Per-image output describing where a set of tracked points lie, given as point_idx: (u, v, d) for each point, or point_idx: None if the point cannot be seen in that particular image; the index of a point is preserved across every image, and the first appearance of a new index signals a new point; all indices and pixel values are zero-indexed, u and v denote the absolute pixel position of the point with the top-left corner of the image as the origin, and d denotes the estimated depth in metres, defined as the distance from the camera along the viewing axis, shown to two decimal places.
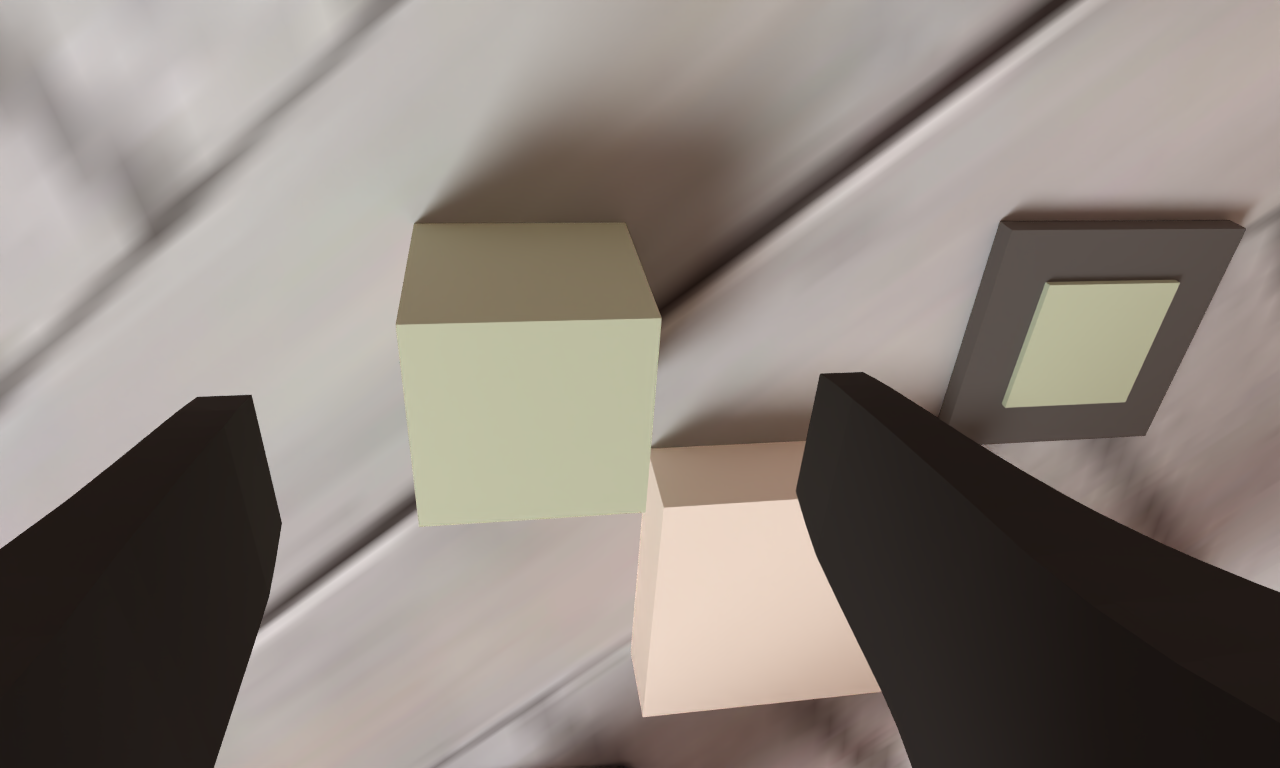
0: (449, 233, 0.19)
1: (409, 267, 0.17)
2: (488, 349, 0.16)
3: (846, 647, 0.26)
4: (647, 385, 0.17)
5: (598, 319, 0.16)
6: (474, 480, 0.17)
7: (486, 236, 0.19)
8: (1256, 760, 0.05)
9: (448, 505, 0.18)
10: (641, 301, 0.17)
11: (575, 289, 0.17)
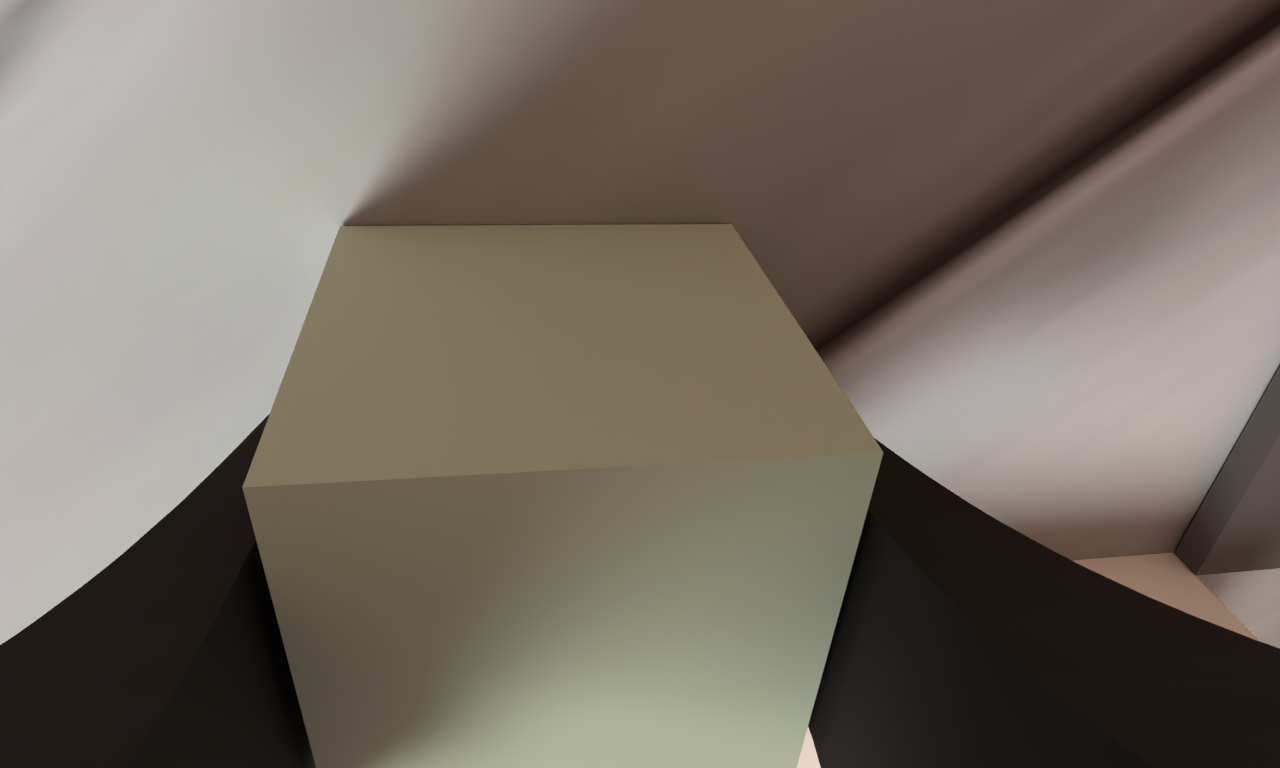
0: (405, 248, 0.10)
1: (309, 325, 0.08)
2: (478, 531, 0.07)
3: None
4: (828, 587, 0.08)
5: (741, 458, 0.07)
6: None
7: (476, 253, 0.10)
8: None
9: None
10: (821, 404, 0.07)
11: (670, 375, 0.08)
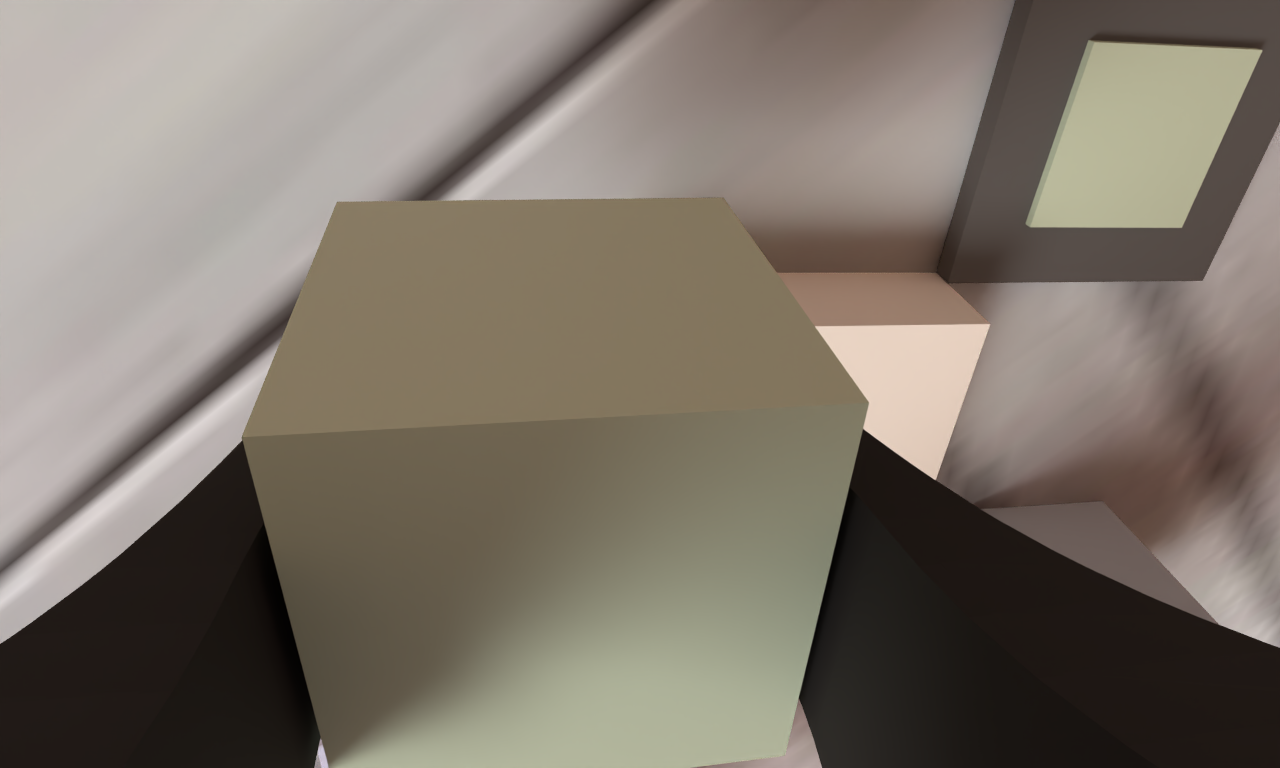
0: (401, 221, 0.10)
1: (307, 291, 0.08)
2: (471, 482, 0.07)
3: None
4: (817, 540, 0.08)
5: (729, 408, 0.07)
6: (450, 730, 0.08)
7: (471, 225, 0.10)
8: None
9: None
10: (808, 360, 0.08)
11: (660, 334, 0.08)
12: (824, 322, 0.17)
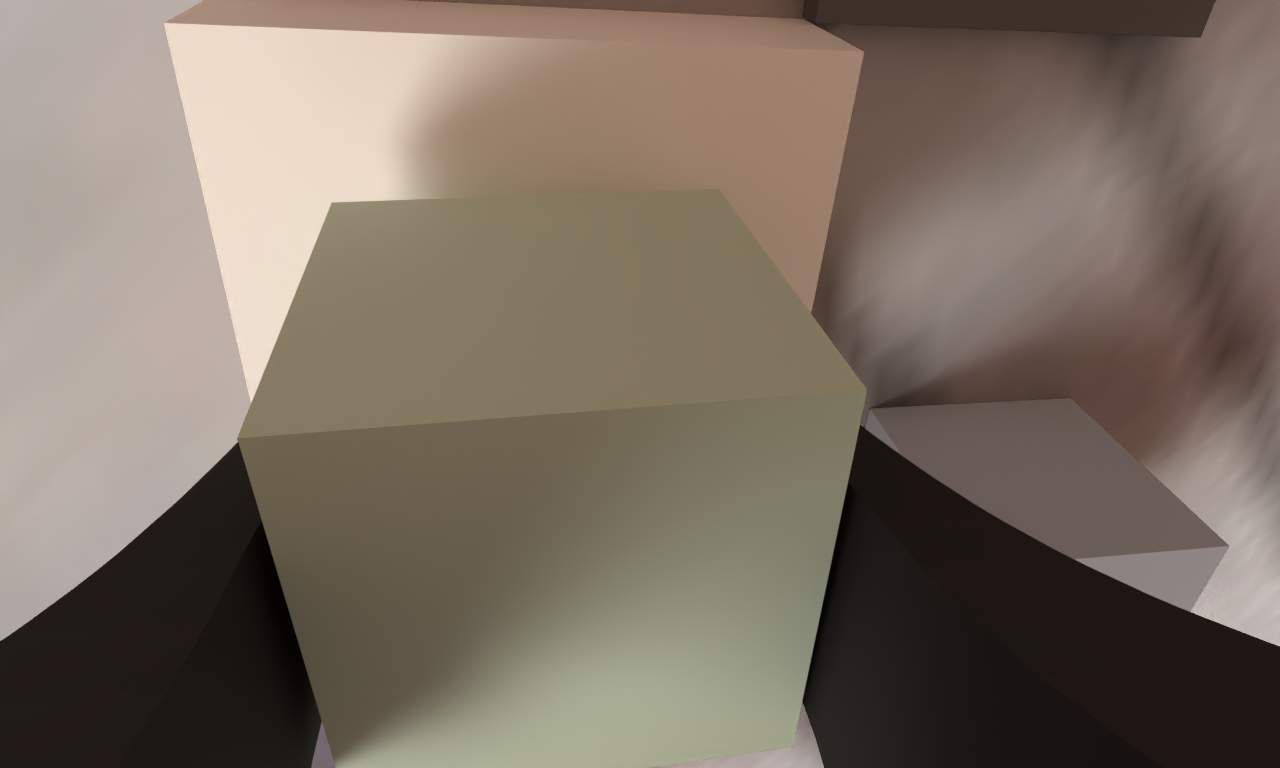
0: (395, 220, 0.10)
1: (302, 291, 0.08)
2: (469, 479, 0.07)
3: None
4: (820, 529, 0.08)
5: (726, 398, 0.07)
6: (455, 726, 0.08)
7: (466, 222, 0.10)
8: None
9: None
10: (806, 348, 0.07)
11: (656, 327, 0.08)
12: (591, 38, 0.11)
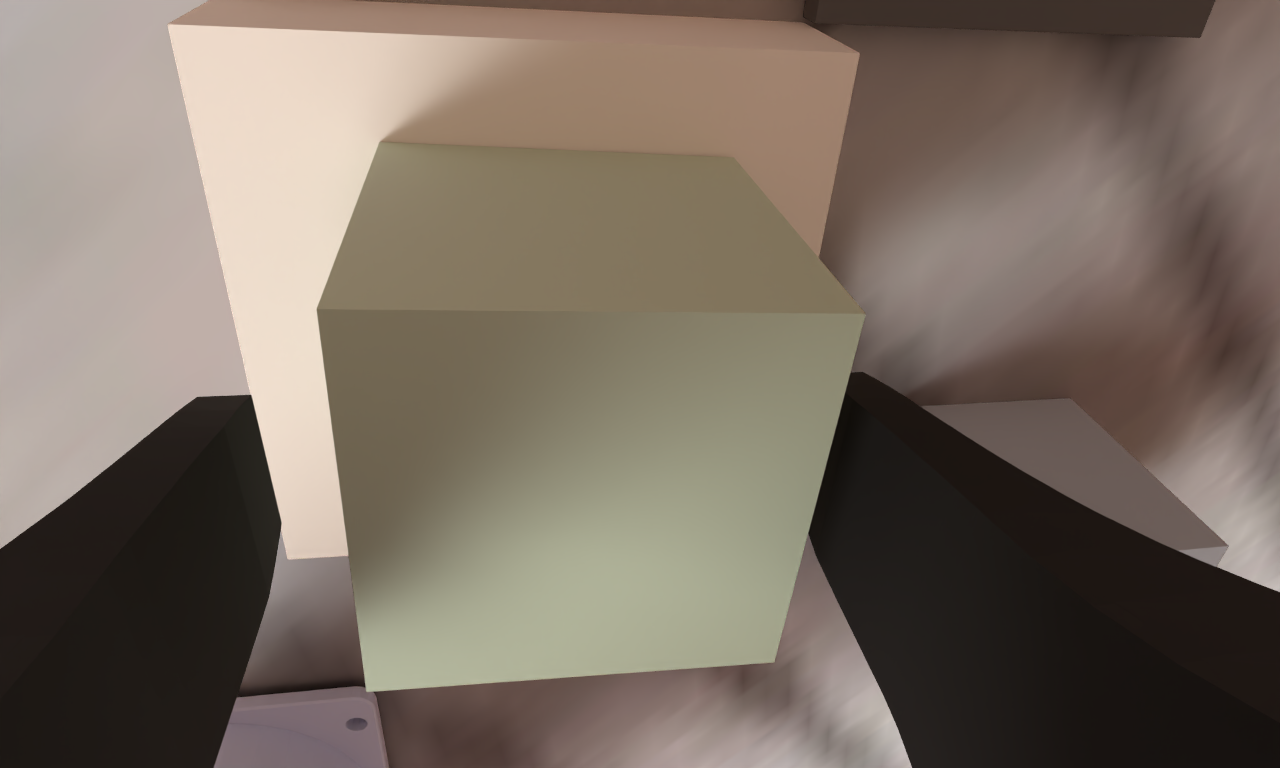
0: (440, 159, 0.11)
1: (361, 207, 0.09)
2: (513, 366, 0.08)
3: None
4: (815, 445, 0.09)
5: (743, 311, 0.08)
6: (472, 613, 0.09)
7: (505, 166, 0.11)
8: (1256, 760, 0.05)
9: (422, 656, 0.09)
10: (812, 281, 0.08)
11: (681, 256, 0.09)
12: (590, 39, 0.11)
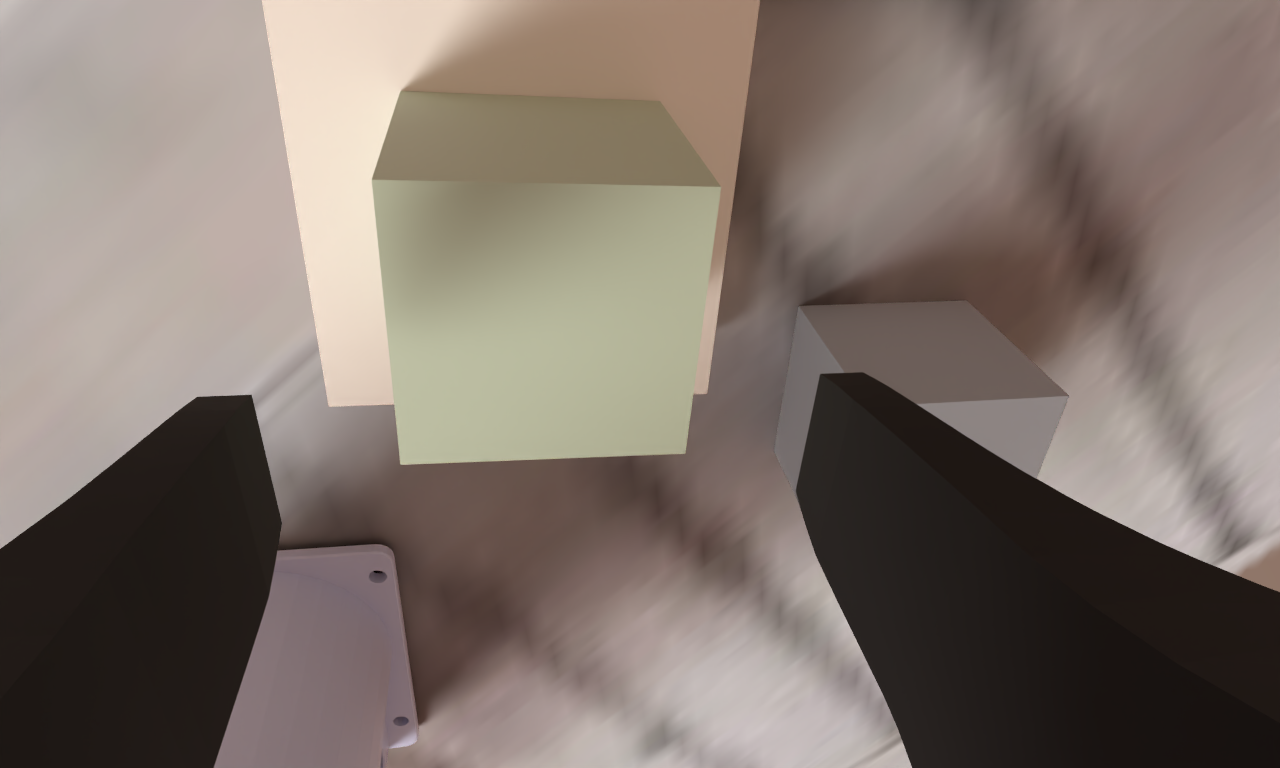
0: (444, 102, 0.15)
1: (392, 129, 0.13)
2: (494, 221, 0.12)
3: None
4: (697, 281, 0.13)
5: (640, 184, 0.12)
6: (472, 403, 0.14)
7: (490, 106, 0.15)
8: (1256, 761, 0.05)
9: (437, 437, 0.14)
10: (692, 171, 0.13)
11: (606, 156, 0.13)
12: None
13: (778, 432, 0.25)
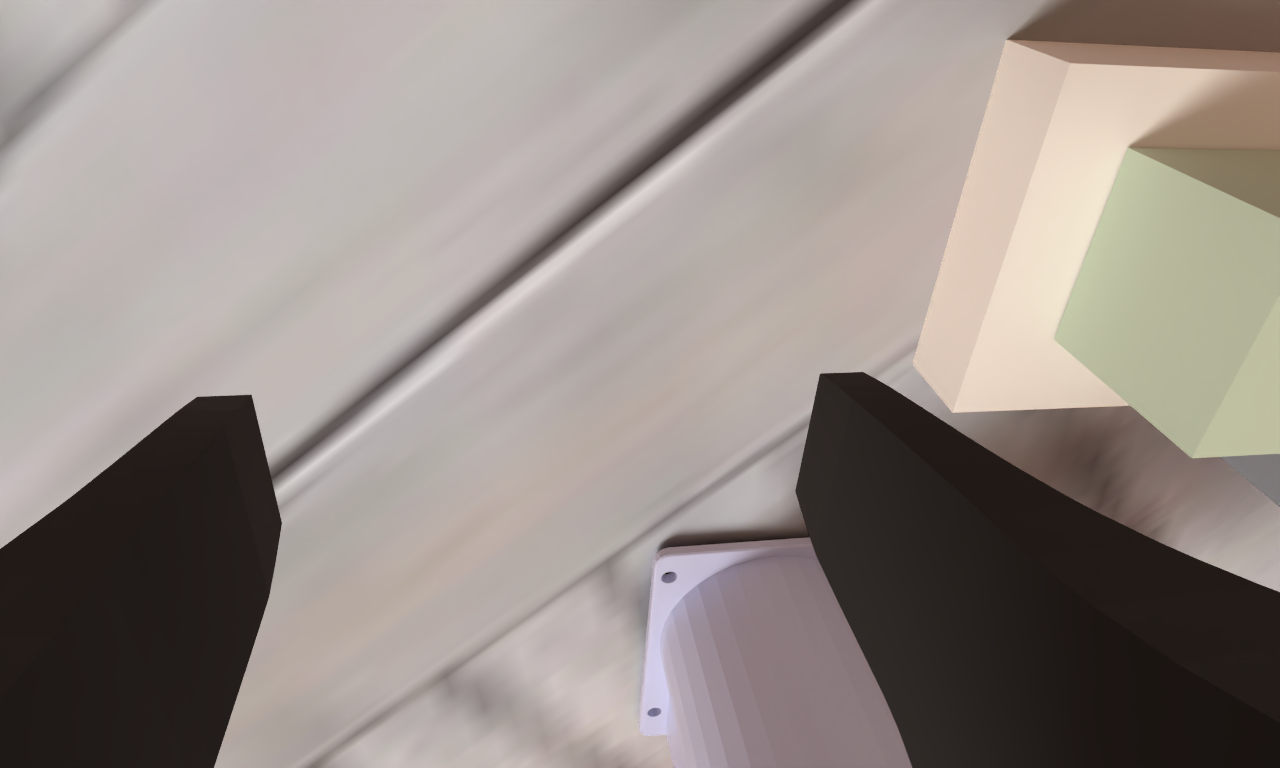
0: (1181, 157, 0.18)
1: (1213, 185, 0.16)
2: None
3: None
4: None
5: None
6: (1269, 408, 0.17)
7: (1220, 160, 0.18)
8: (1256, 760, 0.05)
9: (1230, 435, 0.17)
10: None
11: None
12: (1274, 70, 0.18)
13: None
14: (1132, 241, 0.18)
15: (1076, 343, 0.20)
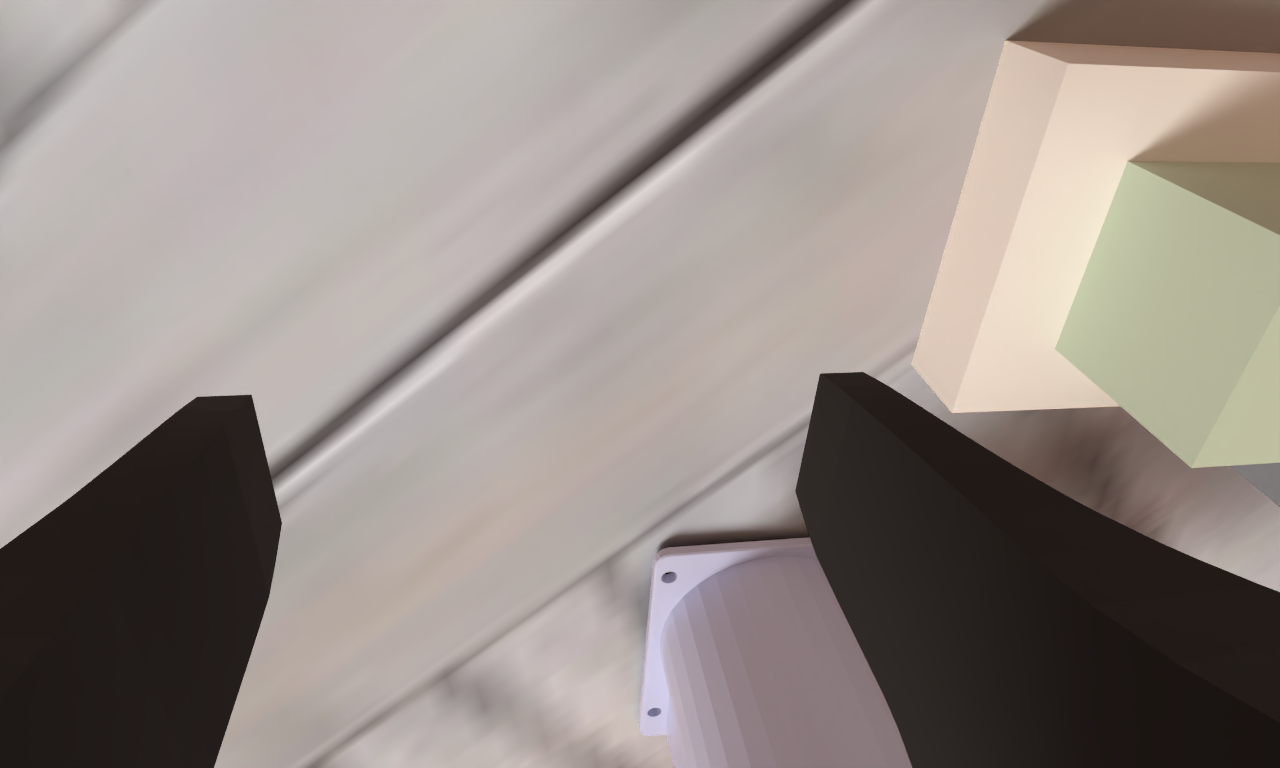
0: (1180, 171, 0.18)
1: (1211, 201, 0.17)
2: None
3: None
4: None
5: None
6: (1268, 419, 0.17)
7: (1218, 174, 0.18)
8: (1256, 760, 0.05)
9: (1229, 445, 0.17)
10: None
11: None
12: (1271, 70, 0.18)
13: None
14: (1132, 253, 0.19)
15: (1077, 353, 0.21)
